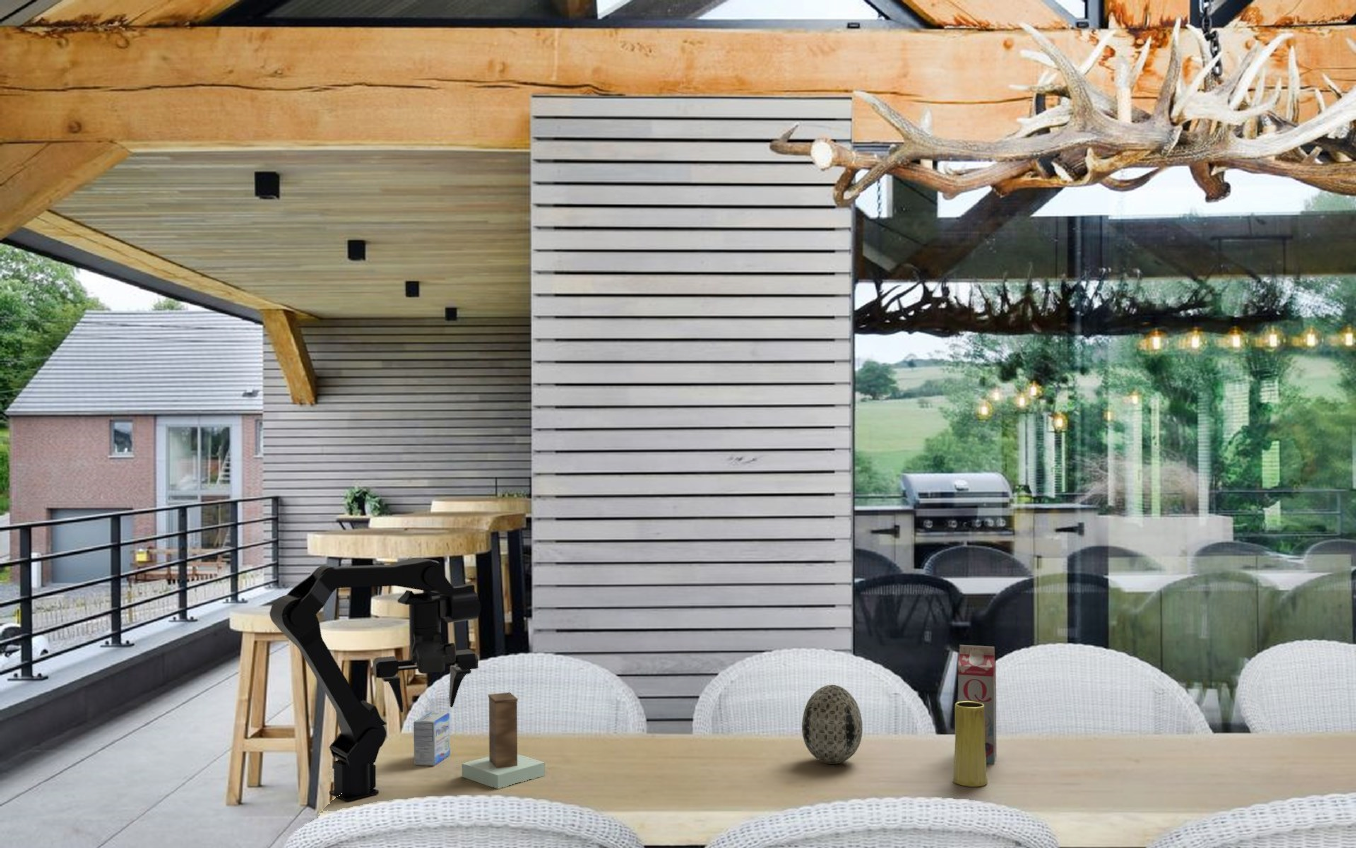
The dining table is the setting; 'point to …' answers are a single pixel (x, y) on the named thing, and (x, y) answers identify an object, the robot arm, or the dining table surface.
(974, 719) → the vase
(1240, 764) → the dining table surface
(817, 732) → the decorative egg
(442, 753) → the medicine box
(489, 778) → the plate
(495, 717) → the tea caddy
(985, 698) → the juice carton
